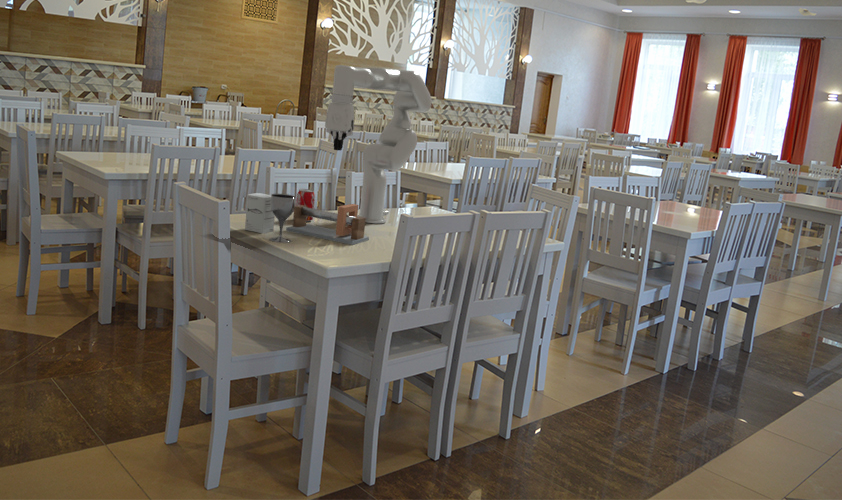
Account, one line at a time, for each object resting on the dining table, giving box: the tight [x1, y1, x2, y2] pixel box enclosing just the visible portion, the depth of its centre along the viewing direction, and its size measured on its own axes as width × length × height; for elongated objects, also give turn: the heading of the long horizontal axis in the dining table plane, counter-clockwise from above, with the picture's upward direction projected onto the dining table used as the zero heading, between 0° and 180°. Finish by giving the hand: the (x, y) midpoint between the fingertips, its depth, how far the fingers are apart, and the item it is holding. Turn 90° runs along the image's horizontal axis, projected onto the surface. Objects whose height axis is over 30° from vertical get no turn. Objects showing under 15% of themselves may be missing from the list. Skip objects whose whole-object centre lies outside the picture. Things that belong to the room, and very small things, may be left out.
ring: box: [335, 203, 359, 236], centre depth 235 cm, size 2×10×10 cm, turn 157°
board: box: [285, 223, 370, 246], centre depth 239 cm, size 27×12×1 cm, turn 67°
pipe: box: [301, 207, 355, 225], centre depth 238 cm, size 24×4×4 cm, turn 67°
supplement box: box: [244, 192, 275, 235], centre depth 233 cm, size 7×7×13 cm
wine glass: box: [268, 193, 297, 244], centre depth 222 cm, size 8×8×15 cm
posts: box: [292, 205, 366, 240], centre depth 239 cm, size 26×5×8 cm, turn 67°
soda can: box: [295, 188, 316, 223], centre depth 260 cm, size 7×7×12 cm
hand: (337, 150), depth 250 cm, fingers closed
